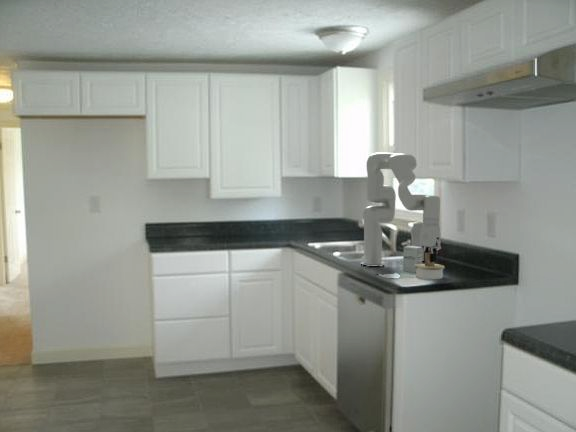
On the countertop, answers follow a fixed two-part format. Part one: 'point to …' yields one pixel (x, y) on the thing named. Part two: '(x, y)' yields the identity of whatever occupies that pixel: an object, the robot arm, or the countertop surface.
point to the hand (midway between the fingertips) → (429, 260)
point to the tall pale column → (416, 235)
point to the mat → (404, 276)
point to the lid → (429, 264)
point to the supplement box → (412, 258)
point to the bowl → (429, 274)
